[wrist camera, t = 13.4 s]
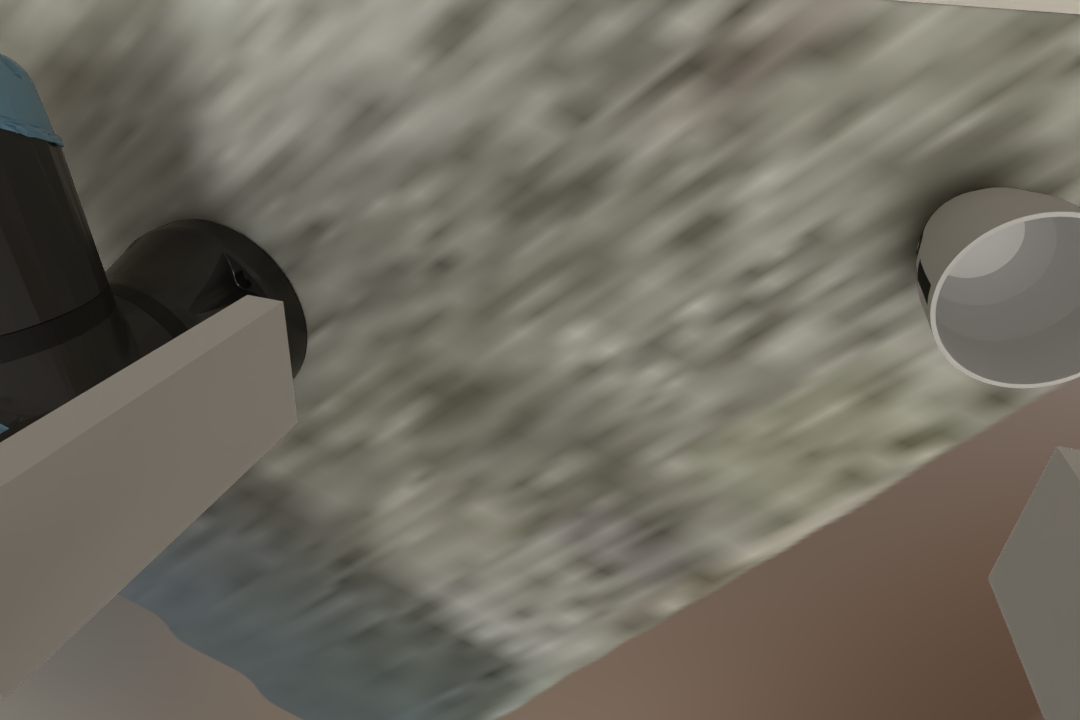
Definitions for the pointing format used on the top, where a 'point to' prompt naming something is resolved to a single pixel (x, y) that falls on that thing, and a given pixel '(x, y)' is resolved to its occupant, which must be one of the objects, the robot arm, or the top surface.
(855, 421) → the top surface
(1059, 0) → the mat
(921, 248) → the cup
